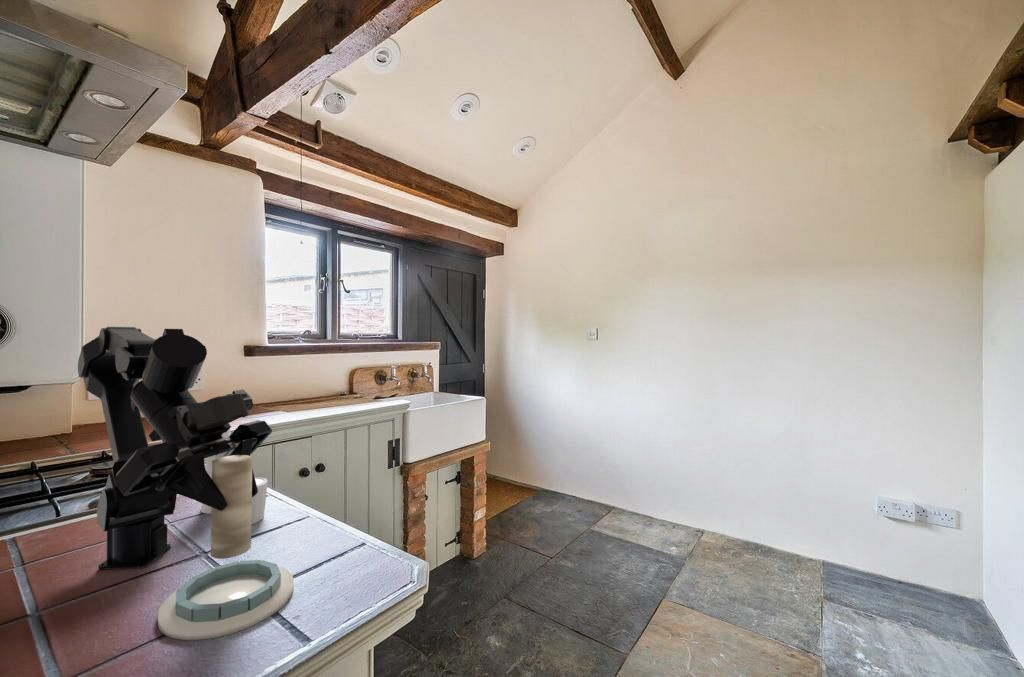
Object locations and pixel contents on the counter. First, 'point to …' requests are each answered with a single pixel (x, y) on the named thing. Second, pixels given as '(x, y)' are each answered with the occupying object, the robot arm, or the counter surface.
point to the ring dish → (225, 600)
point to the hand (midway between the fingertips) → (240, 501)
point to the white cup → (259, 500)
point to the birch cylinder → (232, 506)
